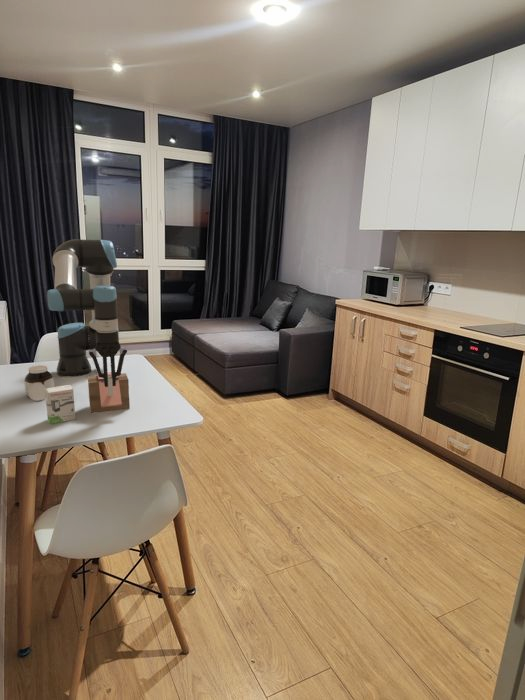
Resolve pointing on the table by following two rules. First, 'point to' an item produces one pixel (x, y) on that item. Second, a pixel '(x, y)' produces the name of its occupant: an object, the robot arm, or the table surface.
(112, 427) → the table surface
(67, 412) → the ink box
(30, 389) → the spread jar
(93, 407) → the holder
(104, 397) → the stub
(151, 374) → the table surface
